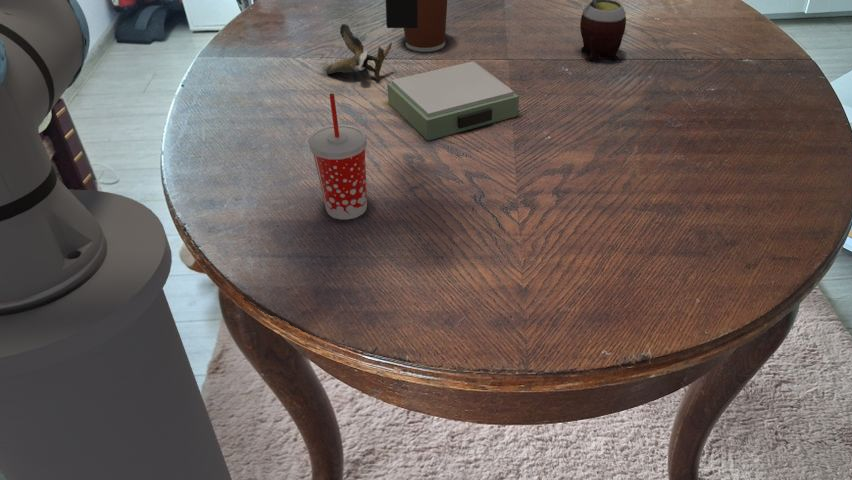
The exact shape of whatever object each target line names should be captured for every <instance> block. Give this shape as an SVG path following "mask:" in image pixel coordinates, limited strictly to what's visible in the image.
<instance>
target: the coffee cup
mask: <svg viewBox="0 0 852 480" xmlns="http://www.w3.org/2000/svg"><path fill="white" fill-rule="evenodd" d="M417 10H418V28H403V31H404V32H403V33H404V40H405V46H406V48H407V49H409V50H411V51H414V52H422V53H425V52H427V53H428V52H435V51H438V50H440V49H443V48H444V47H445V45H446V31H447V13H448V11H447V10H448V0H417Z"/></svg>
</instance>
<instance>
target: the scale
mask: <svg viewBox="0 0 852 480" xmlns="http://www.w3.org/2000/svg"><path fill="white" fill-rule="evenodd" d="M386 86H387V87H386V88H387V101H388V105H390V106H391V107H392V108H393V109H394V110H395V111H396V112H397V113H398V114H399V115H400V116H401V117H402V118H403V119H405V121H407V122H408V124H410V126H412V127H413V128H414V129H415V130H416V132H418V133H419V134H420V135H421V136H422V138H424V139H425V140H426V141H433V140H436V139H439V138H443V137H447V136H451V135H454V134H458V133H462V132H465V131H468V130H469V131H470V130H473V129H476V128H480V127H483V126H487V125H490V124H494V123H498V122H501V121H505V120H509V119H512V118H516V117H519V102H520V101H519V98H520V96H519V95H518V94H517V93H516V92H515V91H514V90H513V89H511V88H510V87H508V85H506V84H504V83H503V82H502V81H500V80H499V79H498V78H496V77H495V76H494V75H493V74H492V73H490V72H488V70H486V69H484V67H482V66H481V65H479V64H478V63H476V62H475V61H474V60H473V61H469V62H464V63H460V64H455V65H450V66H447V67H442V68H438V69H434V70H430V71H426V72H422V73H416V74H412V75H408V76H404V77H399V78H395V79H391V82H388V83H386Z"/></svg>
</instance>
